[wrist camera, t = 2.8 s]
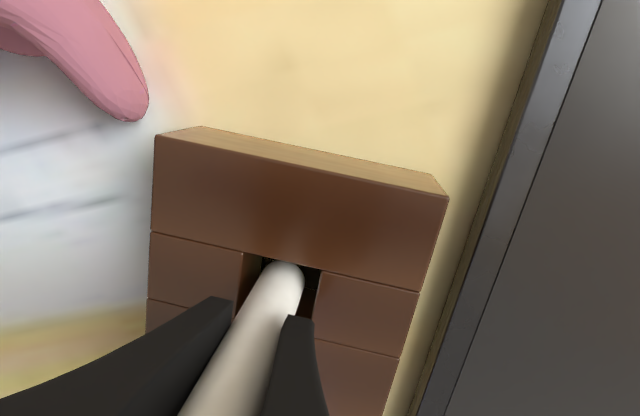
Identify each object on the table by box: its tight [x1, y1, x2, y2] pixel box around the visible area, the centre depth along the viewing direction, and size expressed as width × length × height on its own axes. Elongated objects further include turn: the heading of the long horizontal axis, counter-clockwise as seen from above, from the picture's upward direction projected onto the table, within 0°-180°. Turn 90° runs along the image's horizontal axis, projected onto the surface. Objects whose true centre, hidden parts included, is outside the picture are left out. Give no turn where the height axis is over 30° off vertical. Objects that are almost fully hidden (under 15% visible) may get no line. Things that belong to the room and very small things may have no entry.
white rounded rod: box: [177, 260, 305, 416], centre depth 9 cm, size 2×2×8 cm
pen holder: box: [145, 126, 449, 416], centre depth 14 cm, size 14×8×3 cm, turn 170°
